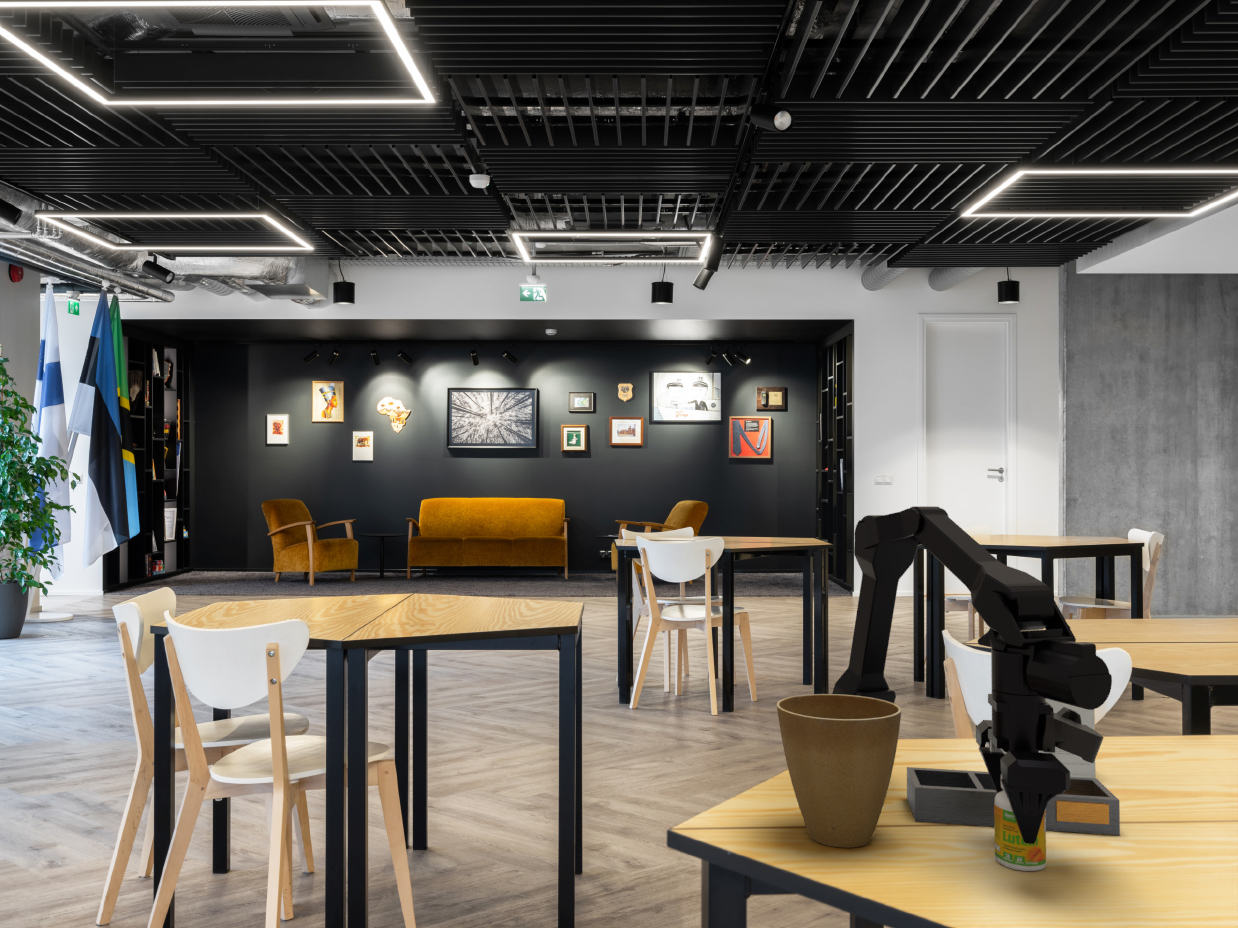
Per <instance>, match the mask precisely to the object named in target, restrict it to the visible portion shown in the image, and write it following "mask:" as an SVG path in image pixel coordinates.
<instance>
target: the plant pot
mask: <svg viewBox="0 0 1238 928" xmlns="http://www.w3.org/2000/svg"><path fill="white" fill-rule="evenodd" d="M776 710H777V717H778V718H777V719H778V723H779V728H780V729H779V730H780V735H781V741H782V742H781V743H782V748H783V750H784V756H785V760H786V765H787V766H786V767H787V769H788V773H789V774H788V775H789V777H790V782H791V785H792V788H793V792H794V796H795V799H796V801H797V804H798V807H799V811H800V813H801V817H802V819H803V821H804V825H805V827H806V830H807V832H808V835H809V837H810V838H811V839H812V840H814V841H815V842H817V843H819V844H822V845H826V846H829V847H834V848H848V849H849V848H859V847H862V846H863V847H864V846H866V845H868V844H869V843H870V842H871V840H872V838H873V836H874V833H875V831H876V827H877V826H878V823H879V819H880V816H881V813H882V810H883V807H884V804H885V802H886V801H885V800H886V798H887V793H888V789H889V786H890V782H891V778H892V773H893V769H894V765H895V764H894V763H895V759H896V755H897V754H896V753H897V748H898V741H899V735H900V726H901V719H902V708H901V706H899V705H898V704H896V703H895V702H894V703H891V702H888V701H884V700H880V699H875V698H870V697H863V696H854V695H840V694H831V693H816V694H815V693H813V694H811V693H810V694H801V695H800V694H799V695H793V696H788V697H786V698H783V699H780V700H778V701H777V702H776Z"/></svg>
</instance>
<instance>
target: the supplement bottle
mask: <svg viewBox="0 0 1238 928" xmlns="http://www.w3.org/2000/svg"><path fill="white" fill-rule="evenodd" d="M1001 779H1003V778H1002V774H1001ZM1001 788H1002V789H1003V791H1001V792H999V793H997V794H996V796H995V802H994V821H995V827H994V858H995V860H996V861H997V863H999V864H1001V865H1002V866H1004V867H1005V868H1006V867H1007V869H1008V868H1009V869H1011V870H1014V871H1015V870H1016V871H1023V872H1038V871H1041V870H1043V869H1044V868H1045V867H1046V865H1047V847H1046V846H1047V838H1046V837H1047V833H1046V832H1047V830H1046V809H1045V812H1044V815H1043V818H1042V822H1041V825H1040V829H1039V832H1038V835H1037V839H1036V842H1035V843H1034V844H1027V843H1025V842H1024V841H1023V838H1022V836H1021V833H1020V830H1019V828H1018V825H1017V822H1016V819H1015V817H1014V814H1013V811H1012V809H1011V806H1010V803H1009V800H1008V798H1007V795H1006V792H1005V790H1004V787H1003V784H1002V781H1001Z"/></svg>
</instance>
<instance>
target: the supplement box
mask: <svg viewBox="0 0 1238 928" xmlns="http://www.w3.org/2000/svg"><path fill="white" fill-rule="evenodd" d="M1046 702H1047V703H1049V704H1050V705H1051V706H1052V707H1053V710H1054V713H1057V712H1058V711H1060V710H1061V709H1062V708H1063V707H1066V708H1068V709H1071V710H1074V711H1076V712H1077V713H1078V714H1080V716H1081V723H1082V724H1083V725H1087V726H1088V727H1090V728H1092V729H1094V730H1095V731H1096V729H1095V728H1096V727H1095V725H1096V724H1095V709H1093V710H1088V709H1083V708H1080V707H1076V706H1072V705H1069V704H1065V703H1061V702H1057V701H1054V700H1050V699H1046ZM1039 753H1051V752H1043V751H1039ZM1052 754H1053V755H1054V756H1055V757H1056V758H1057V759H1058V760H1059V761H1060V762H1061V763H1062V764H1063V765H1064V766H1065V767H1066V768H1067V769H1068V770H1069V771H1070V777H1082V778H1096V775H1097V774H1096V760H1095V761H1094V763H1090V762H1087V761H1084V760H1083V759H1082V757H1079V756H1077V755H1074V754H1072V753H1069V752H1067V751H1064V750H1062V749H1059V748H1057V747H1055V753H1052ZM1096 779H1097V778H1096Z"/></svg>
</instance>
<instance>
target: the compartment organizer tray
mask: <svg viewBox="0 0 1238 928" xmlns="http://www.w3.org/2000/svg"><path fill="white" fill-rule="evenodd" d="M996 794H997V792H996V789H995V787H994V784H993V782H992V779H991V777H990V775H989V772H988V771H979V770H978V771H976V770H962V769H960V770H959V769H944V768H932V767H931V768H929V767H927V768H925V767H912V766H907V767H906V800H907V803H908V805H909V808H910V811H911V814H912V817H913V819H914V822H923V823H935V824H950V825H962V826H963V825H964V826H981V827H994V828H995V821H994V802H995V796H996ZM1120 809H1121V808H1120V799H1119V797H1117V796H1115V794H1113V793H1112V792H1111V790H1109V789H1108V788H1107V787H1106V786H1105V785H1104V784H1103V783H1102V782H1101V781H1100V780H1099V779H1098V778H1082V777H1070V789H1069V790H1065V792H1064V793H1063V794H1060V795H1056V796H1055V797H1053V798H1052V799H1050V800H1049V801H1048V803H1047V806H1046V831H1047V832H1048V831H1050V832H1051V831H1052V832H1065V833H1078V834H1079V833H1080V834H1093V835H1094V834H1095V835H1108V836H1120V835H1121V823H1120V822H1121V821H1120V819H1121V816H1120V812H1121V811H1120Z"/></svg>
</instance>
